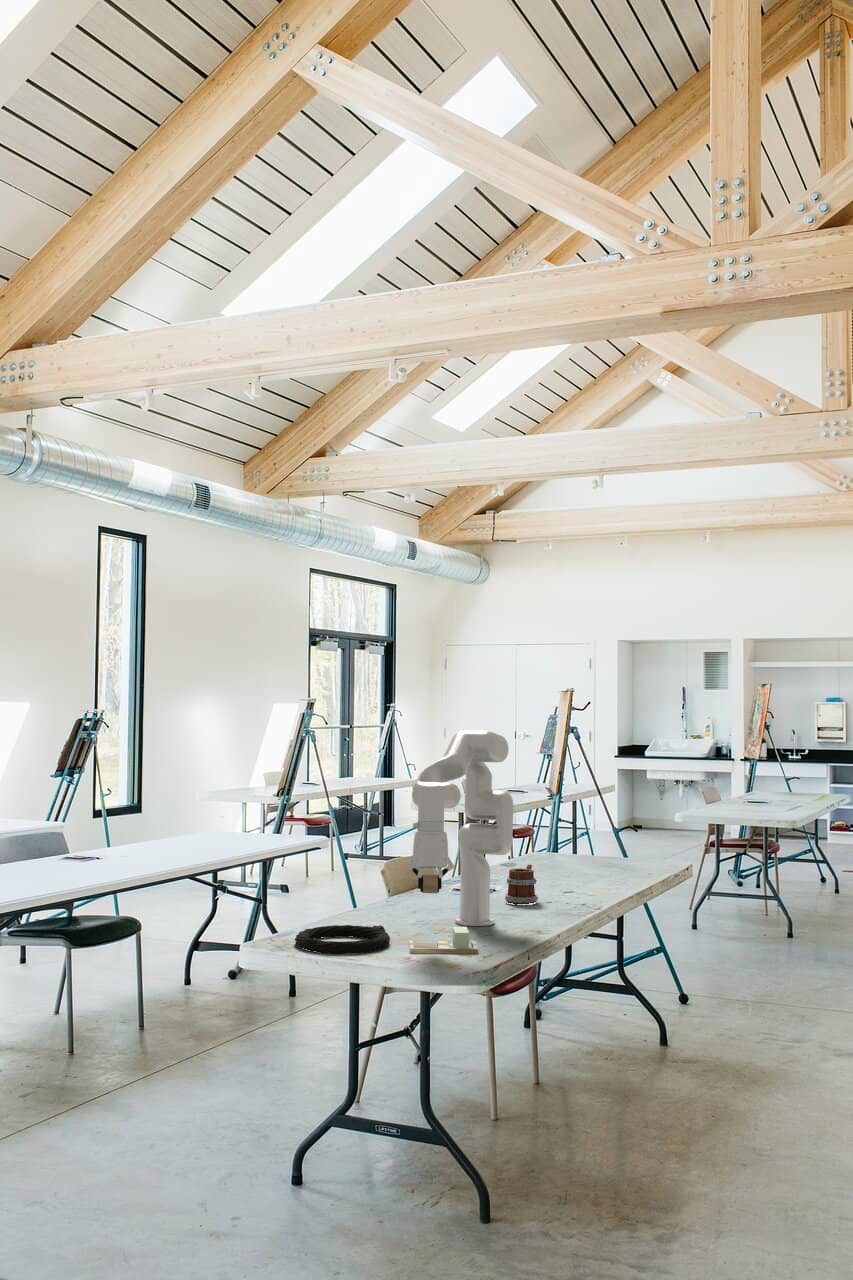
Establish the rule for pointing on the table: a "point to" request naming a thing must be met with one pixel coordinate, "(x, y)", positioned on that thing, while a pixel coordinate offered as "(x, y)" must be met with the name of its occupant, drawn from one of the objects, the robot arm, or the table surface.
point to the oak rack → (441, 947)
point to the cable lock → (374, 933)
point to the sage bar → (460, 937)
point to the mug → (521, 886)
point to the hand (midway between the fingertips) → (429, 890)
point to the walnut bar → (430, 884)
